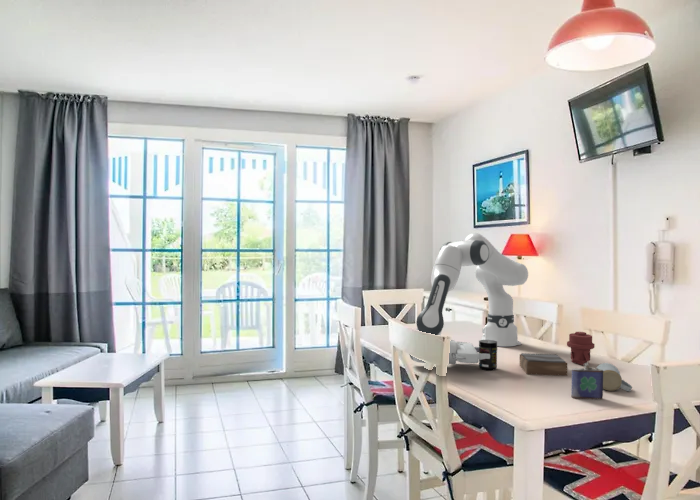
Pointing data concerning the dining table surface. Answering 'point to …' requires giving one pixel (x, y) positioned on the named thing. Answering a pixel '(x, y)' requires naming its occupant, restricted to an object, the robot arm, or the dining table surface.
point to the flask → (587, 383)
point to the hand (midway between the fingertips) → (487, 353)
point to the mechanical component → (580, 347)
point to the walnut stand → (543, 364)
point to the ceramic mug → (613, 378)
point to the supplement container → (490, 348)
